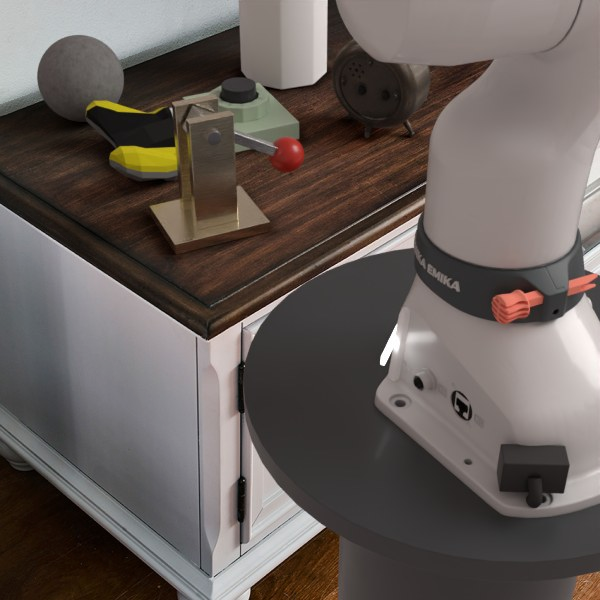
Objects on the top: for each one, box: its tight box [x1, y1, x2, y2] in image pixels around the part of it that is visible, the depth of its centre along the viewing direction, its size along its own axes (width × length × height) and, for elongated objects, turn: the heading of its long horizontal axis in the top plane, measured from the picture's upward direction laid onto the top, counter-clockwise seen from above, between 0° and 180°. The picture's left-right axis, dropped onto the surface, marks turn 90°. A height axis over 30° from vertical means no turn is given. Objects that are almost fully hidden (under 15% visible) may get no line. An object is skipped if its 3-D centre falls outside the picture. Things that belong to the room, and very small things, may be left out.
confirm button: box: [220, 77, 256, 104], centre depth 120 cm, size 4×4×2 cm
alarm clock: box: [331, 37, 432, 139], centre depth 117 cm, size 11×5×16 cm, turn 59°
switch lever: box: [182, 106, 305, 173], centre depth 102 cm, size 13×4×4 cm, turn 114°
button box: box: [182, 83, 300, 154], centre depth 121 cm, size 12×10×4 cm
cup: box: [238, 0, 329, 91], centre depth 130 cm, size 11×11×18 cm
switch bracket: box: [149, 94, 271, 255], centre depth 101 cm, size 10×8×13 cm
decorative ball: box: [36, 34, 125, 123], centre depth 122 cm, size 10×10×10 cm
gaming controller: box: [86, 101, 178, 182], centre depth 114 cm, size 15×6×10 cm
